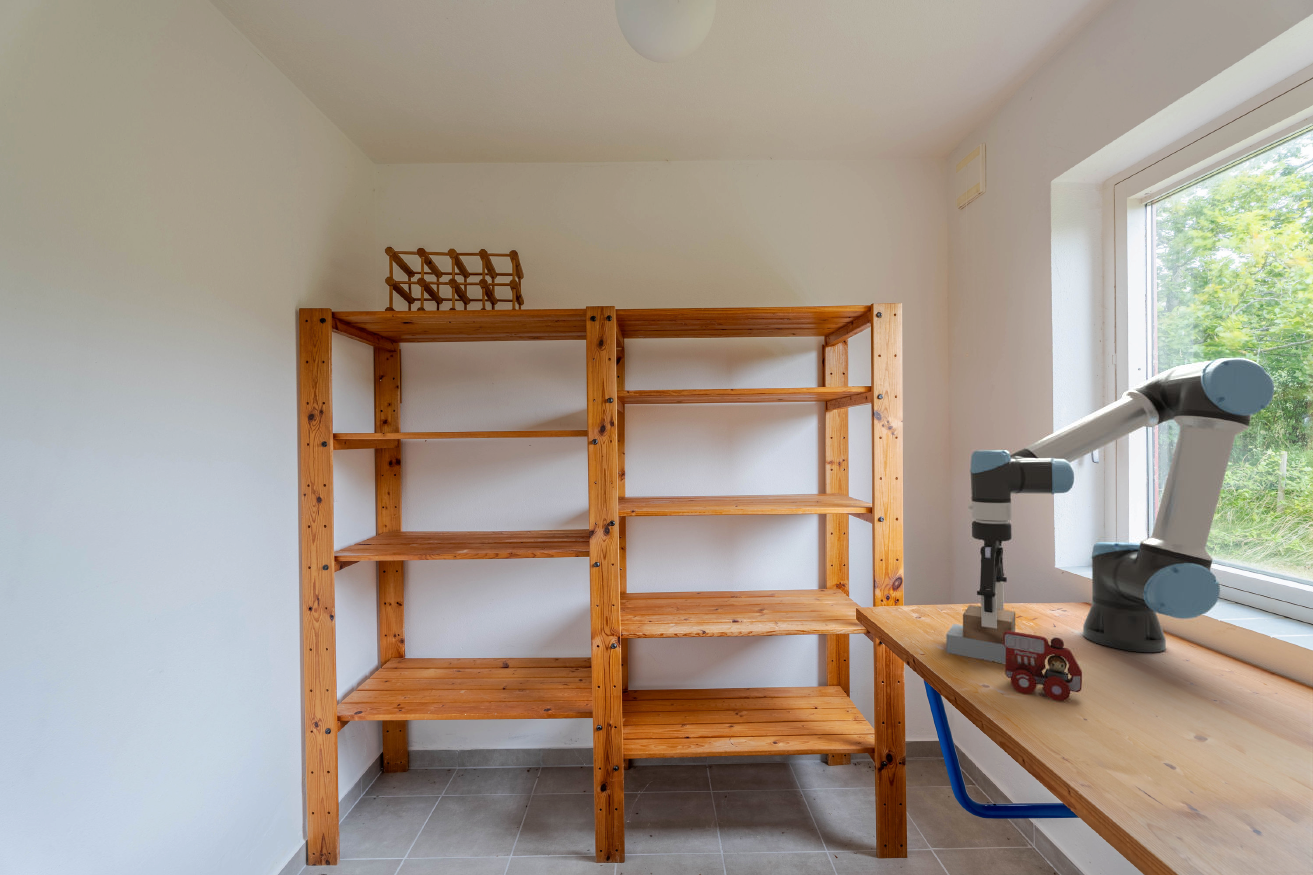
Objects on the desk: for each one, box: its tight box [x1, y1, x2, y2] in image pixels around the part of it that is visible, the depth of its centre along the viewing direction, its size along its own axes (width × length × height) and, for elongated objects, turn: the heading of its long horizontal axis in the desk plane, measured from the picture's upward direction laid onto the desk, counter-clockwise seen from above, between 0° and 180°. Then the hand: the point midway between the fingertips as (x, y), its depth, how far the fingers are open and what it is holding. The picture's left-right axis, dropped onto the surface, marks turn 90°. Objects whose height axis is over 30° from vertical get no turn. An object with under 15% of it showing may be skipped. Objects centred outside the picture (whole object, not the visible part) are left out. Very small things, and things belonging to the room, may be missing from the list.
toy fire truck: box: [1003, 631, 1083, 702], centre depth 110 cm, size 7×12×10 cm, turn 56°
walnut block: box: [962, 604, 1016, 645], centre depth 129 cm, size 9×9×5 cm
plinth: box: [945, 623, 1006, 665], centre depth 129 cm, size 16×9×4 cm, turn 54°
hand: (993, 618), depth 129 cm, fingers open, 13 cm apart
